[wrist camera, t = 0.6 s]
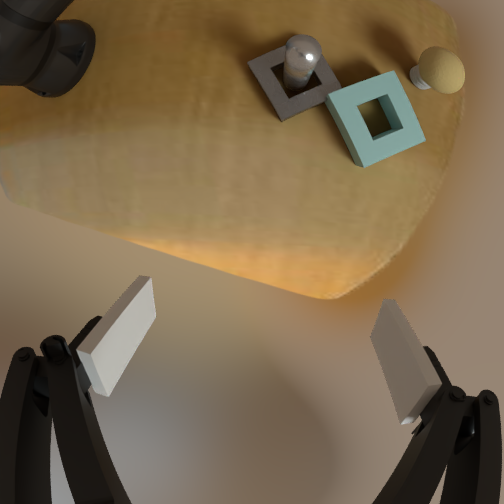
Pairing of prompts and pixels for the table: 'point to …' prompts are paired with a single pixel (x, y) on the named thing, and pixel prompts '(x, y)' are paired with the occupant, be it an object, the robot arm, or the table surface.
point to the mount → (275, 93)
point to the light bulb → (438, 71)
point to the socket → (395, 109)
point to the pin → (300, 61)
